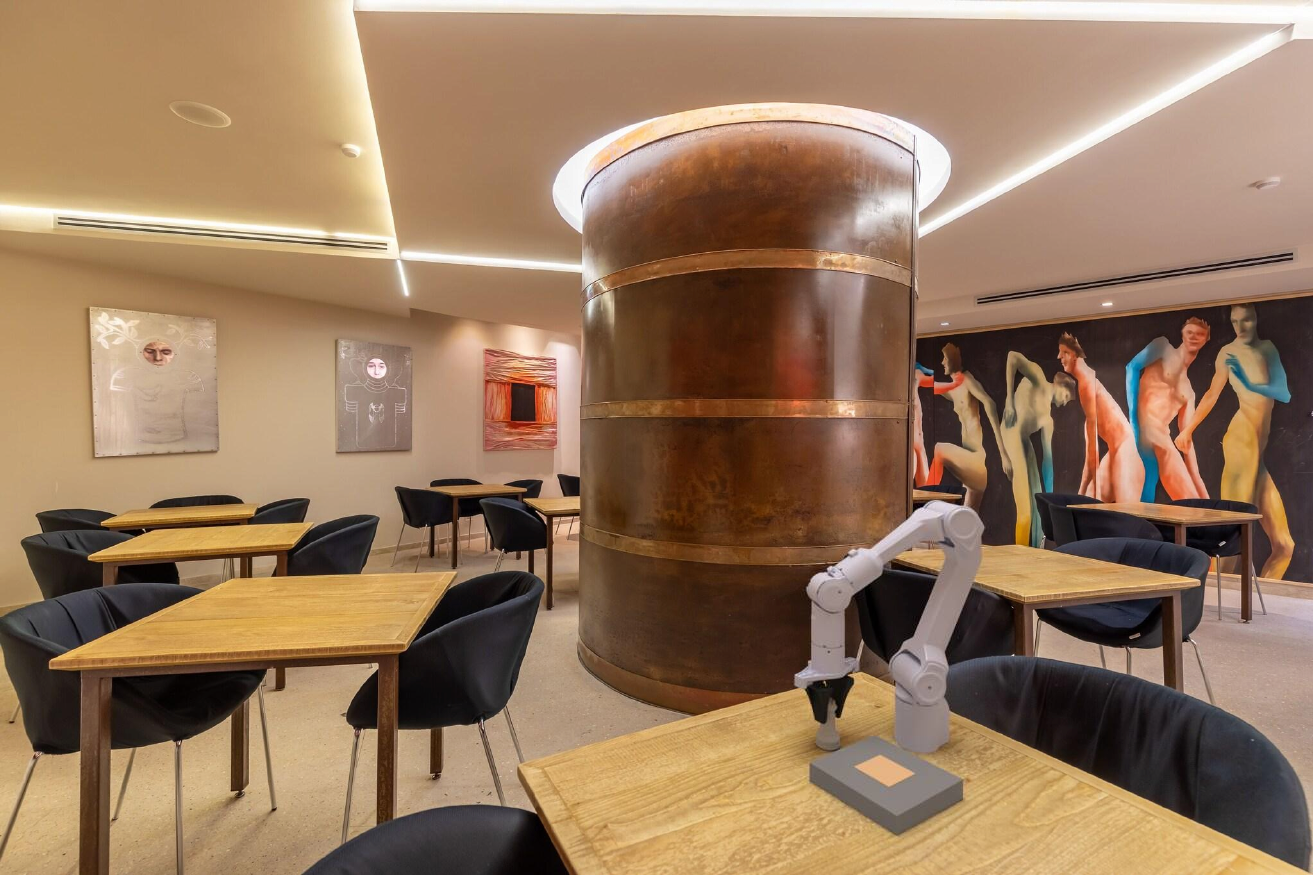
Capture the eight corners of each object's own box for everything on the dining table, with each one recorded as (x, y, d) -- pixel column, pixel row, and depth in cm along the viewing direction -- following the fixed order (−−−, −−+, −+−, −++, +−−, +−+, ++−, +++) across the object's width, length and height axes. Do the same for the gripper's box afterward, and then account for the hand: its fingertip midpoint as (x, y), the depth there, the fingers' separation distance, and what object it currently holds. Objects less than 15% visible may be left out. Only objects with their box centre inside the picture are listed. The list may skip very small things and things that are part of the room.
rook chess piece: (842, 752, 106) (842, 707, 106) (815, 750, 107) (815, 704, 107) (839, 739, 110) (839, 695, 110) (814, 737, 111) (814, 693, 111)
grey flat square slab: (874, 751, 106) (874, 734, 106) (963, 798, 93) (963, 778, 93) (809, 781, 97) (809, 761, 97) (896, 837, 84) (897, 815, 84)
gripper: (837, 628, 115) (837, 700, 116) (781, 643, 108) (781, 720, 108) (868, 639, 109) (868, 714, 110) (812, 656, 102) (812, 737, 102)
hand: (827, 718), depth 108 cm, fingers closed on rook chess piece, 3 cm apart
